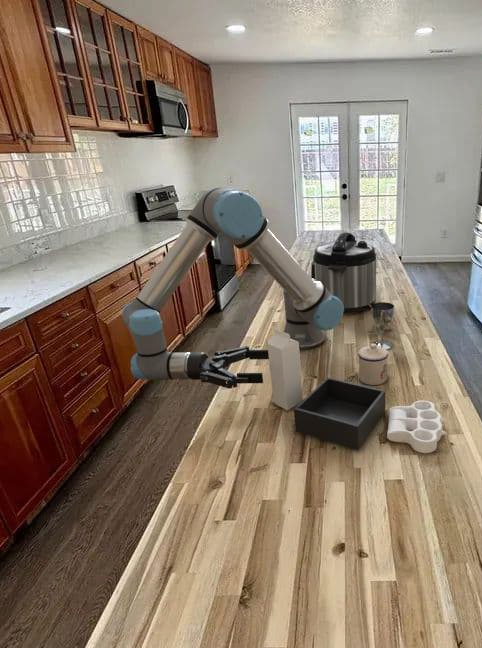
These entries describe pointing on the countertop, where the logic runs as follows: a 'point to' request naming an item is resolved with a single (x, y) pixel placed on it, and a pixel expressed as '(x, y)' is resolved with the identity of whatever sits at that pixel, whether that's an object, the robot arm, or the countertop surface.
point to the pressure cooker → (347, 271)
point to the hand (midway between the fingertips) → (267, 365)
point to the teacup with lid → (373, 365)
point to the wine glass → (382, 320)
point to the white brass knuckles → (416, 426)
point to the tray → (340, 412)
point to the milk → (285, 370)
